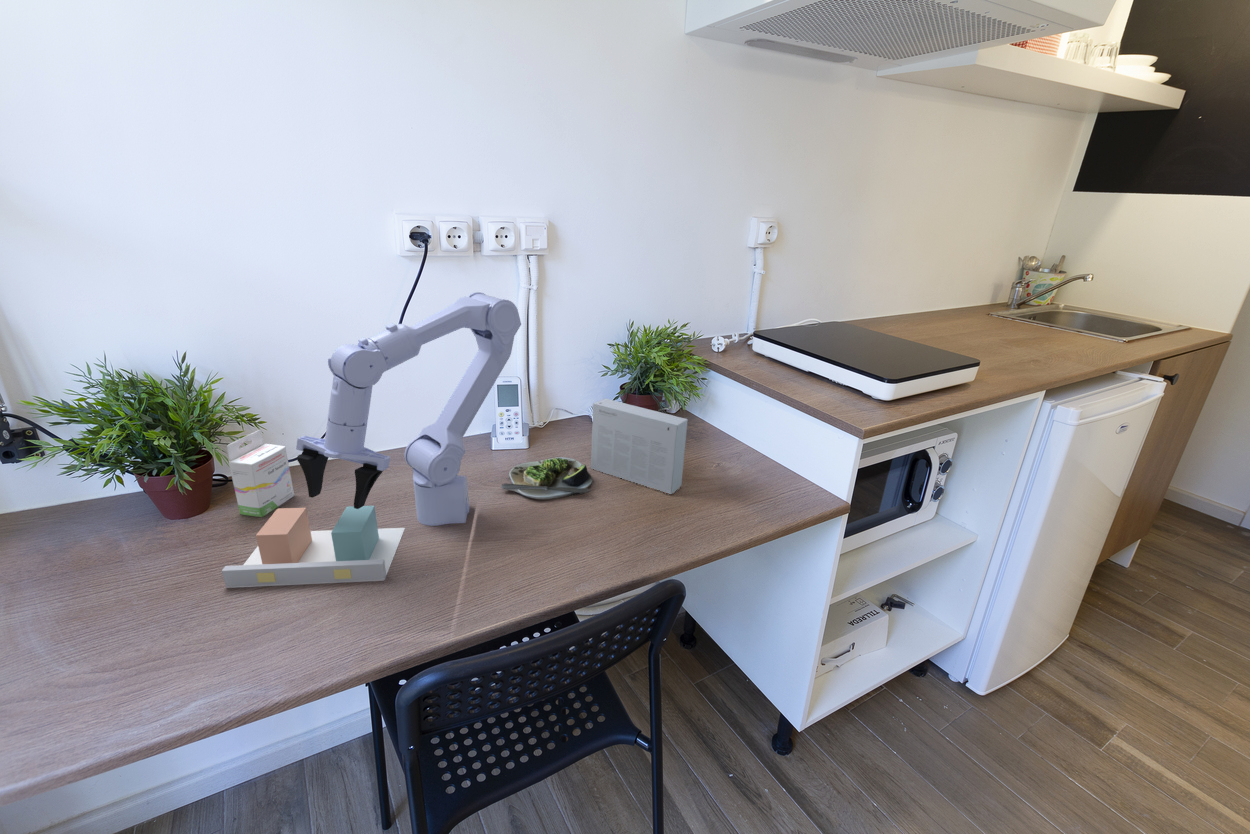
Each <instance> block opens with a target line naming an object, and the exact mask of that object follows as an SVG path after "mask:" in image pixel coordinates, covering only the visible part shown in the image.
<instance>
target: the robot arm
mask: <svg viewBox="0 0 1250 834" xmlns="http://www.w3.org/2000/svg"><path fill="white" fill-rule="evenodd" d="M521 326H522V321H521V318H520V313H519V310H518V307H517V305H516V304H515V303H514V302H512V301H511V300H509V299H505V298H504V299H502V298H499V297H495V296H491V295H489V294H488V295H487V294H485V293H483V292H479V291H478V292H477V291H475V292H472V293H470V294H469V295H467V296H462V297H460V298H458V299H457V300H456V301H455V302H454V303H452V304H450V305H448V306H447V307H445V308H443V309H441V310H440V311H438V312H435V313H434V314H432V315H430V316H428V317H426V318H425V319H422V320H421V321H419V322H417V323H415V324H414V325H411V326H408V325H406V324H403V323H398V324H394V323H393V322H391V323H389V324H387V325H385V329H386V330H383V331H381V332H379V333H377V334H374V335H373V336H370V337H368V338H366V337H361V338H359V339H358V341H357V342H358V343H357V344H354V343H352V344H351V343H346V344H342V345H340V346H339V347H337V348H336V349H335V350H334V351H335V352H333V353H332V355H331V357H330V358H328V359H327V364H328V365H327V366H328V369H329V372H331V374H332V375H333V379H332V384H331V385H332V386H331V393H330V399H329V407H328V413H327V423H326V430H325V438H319V437H313V436H307V435H303V436H300V437H297V439H296V450H297V451H302V452H301V454H298V455H297V460H296V461H297V462H298V464H299V465H300V467H301V470H302V472H303V474H304V477H305V481H306V486H307V494H308V497H309V498H312V499H314V498H315V497H317V496H318V495H321V492H322V490H323V489H322V487H323V483H324V474H325V471H326V466H327V463H328V460H329V458H330V459H339V460H343V461H346V462H352V463H356V464H358V465H359V464H360V465H362V466H360V467H358V468H356V469H354V477H355V492H354V499H353V506H354V508H355V509H359V508H361V507H362V506H366V505H365V504H366V502H367V499H368V496H369V495H370V491H371V490H372V488H373V486H374V484H375V483H376V481H377V480H378V479H379V478H380V476H381V475H382V474H383V472H384V471H386V470H387V469H389V467H390V461H391V456H388V455H385V454H382V453H380V452H377V451H375V450H373V449H370V448H368V447H365V443H366V442H365V441H366V435H367V430H368V429H367V427H368V423H369V415H370V407H371V399H372V391H373V386H374V385H376V384H378V382H379V381H380V379H381V378H382V377H383V374H384V373H385V372H387V371H389V370H391V369H393V368H395V367H397V366H399V365H401V364H403V363H404V362H407V361H409V360H412V359H413V358H415V357H418V355H419V353H420V352H421V348H422V346H423V345H425V344H427V343H430V342H432V341H435V340H437V339H439V338H441V337H443V336H446V335H449V334H451V333H454V332H455V331H458V330H460V329H463V328H465V329H469V330H470V331H471V333H472V334H473V336H474V338H475V339H476V341H475V342H476V343H477V347H478V351H477V352H476V354H475V356H474V357H473V358H472V360H471V361H470V364H469V366H468V367H467V368H466V370H465V372H464V374H463V376H462V377H461V379H460V381H459V383H458V384H457V386H456V388H455V389H454V391H453V392H452V394H451V395H450V397H449V398H448V400H447V403H446V404H445V406H444V407H443V408H442V409H443V410H442V411H441V413H440V414H439V416H438V418H437V420H436V421H435V422H434V423H432V424H429V425H427V426H425V427H424V428H422V429H421V431H420V433H419V434H418V435H417V436H416V437H415V438H413V439H412V440H411V441H410V442H409V443H408V444H407V445H406V447H405V450H404V461H405V462H406V464H407V465H408V466H409V467H410V468H412V474H413V475H412V480H413V481H412V482H413V493H414V501H415V502H414V503H415V511H416V519H417V521H418V522H419V523H420V524H422V525H424V526H429V527H430V526H432V527H435V526H442V525H448V524H450V525H451V524H465V523H466V522H467V517H468V514H469V513H470V502H469V501H470V500H469V486H468V478H467V475H460V474H459V471H460V470H461V463H462V459H463V457H464V455H465V453H466V448H465V444H464V443H465V442H464V435H465V434H466V432H467V431H468V428H469V427H470V425H471V424H472V422H473V420H474V419H475V416H477V413H478V412H479V411H480V408H481V407H482V405H483V403H484V401H486V398H487V397H488V395H489V393H490V391H491V390H492V388H493V386H494V384H495V383H496V381H497V379H498V378H499V376H500V374H501V373H502V371H503V369H504V367H505V366H506V364H507V362H508V361H509V359H510V357H511V355H512V351H513V347H514V346H513V345H514V341H515V336H516V335H517V333H518V331H519V329H520V327H521Z"/></svg>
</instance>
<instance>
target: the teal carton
mask: <svg viewBox="0 0 1250 834" xmlns="http://www.w3.org/2000/svg"><path fill="white" fill-rule="evenodd" d="M376 513H377V512H376V506H375V505H364V506H362V507H361V508H359V509H355V508H354V505H353V506H346V507H345V509H344V511H343V512H342V514H341V515H340V517H339V519H338V521H337V522H336V524H335V526H334V527H333V529H332V532H331V535H332V541H333V547H334V552H335V558H336V561H355V560H369V559H370V557H371V554H372V552H373V550H374V548H375V546H376V543H377V541H378V539H379V534H378V529H379V527H378V521H377V514H376Z"/></svg>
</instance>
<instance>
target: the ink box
mask: <svg viewBox="0 0 1250 834" xmlns="http://www.w3.org/2000/svg"><path fill="white" fill-rule="evenodd" d="M263 437H264V436H263V432H262V429H258V430H256V431H254V432H252V433H249V434H247V435H245V436H243V437H241V438H239V439H237V440H235V441H233V442H230V443H229V444H227V446H226V451H227V456H228V466H229V470H230V474H231V480H232V483H233V488H234V492H235V497H236V498H235V499H236V502H237V506H238V510H239V514H240V515H244V516H250V517H258V518H264V517H265V516H266V515H268V514H269V513H271V512H273V511H275V510H276V509H278V508H279V507H280V506H281V505H283V504H284V503H286V502H287V501H289V500H290V499H291V498H293V497H295V492H294V487H293V482H292V481H293V480H292V474H291V471H290V465H289V459H288V453H287V448H286V446H285V445H279V444H271V443H264V438H263ZM249 441H251V442H250V443H248V444H247V445H244V446H243V447H240V446H241V445H243V444H244V443H245V442H249Z"/></svg>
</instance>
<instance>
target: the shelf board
mask: <svg viewBox="0 0 1250 834" xmlns="http://www.w3.org/2000/svg"><path fill="white" fill-rule="evenodd" d="M405 529H406V528H405V527H390V528H388V527H386V528H384V527H383V528H378V534H379V539H378V541H377V543H376V546H375V548H374V550H373V552H372V554H371V557H370V559H369V560H355V561H336V558H335V552H334V547H333V541H332V535H331V532H332V530H333V529H332V530H310V531H311V537H312V542H311V543H310V545H309V546H308V548H307V549H306V551H305V552H304V554H303V556H302V557H301V559H300V560H299V562H298V563H283V564H262V560H261V556H260V552H259V547H258V546H256V548H255V549H254V550H253V552H252V553H251V554H250V556H248V558H247V559H246V560H245V562H244V563H243V564H242V565H240V564H239V565H238V564H237V565H225V566H224V567H223V568H222V570H221V573H222V577H223V581H224V585H225V589H228V588H231V589H232V588H248V587H249V588H250V587H251V588H252V587H271V586H272V587H273V586H274V587H275V586H292V585H293V586H296V585H314V584H315V585H316V584H317V585H318V584H319V585H320V584H337V583H359V582H360V583H361V582H377V581H378V582H379V581H380V582H381V581H383V582H384V581H385V580H386V578H387V575H388V573H389V570H390V567H391V564H392V562H393V559H394V558H395V554H396V552H397V549H398V548H399V547H398V546H399V545H400V541H401V540H402V539H401V538H402V537H403V534H404V531H405Z"/></svg>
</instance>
